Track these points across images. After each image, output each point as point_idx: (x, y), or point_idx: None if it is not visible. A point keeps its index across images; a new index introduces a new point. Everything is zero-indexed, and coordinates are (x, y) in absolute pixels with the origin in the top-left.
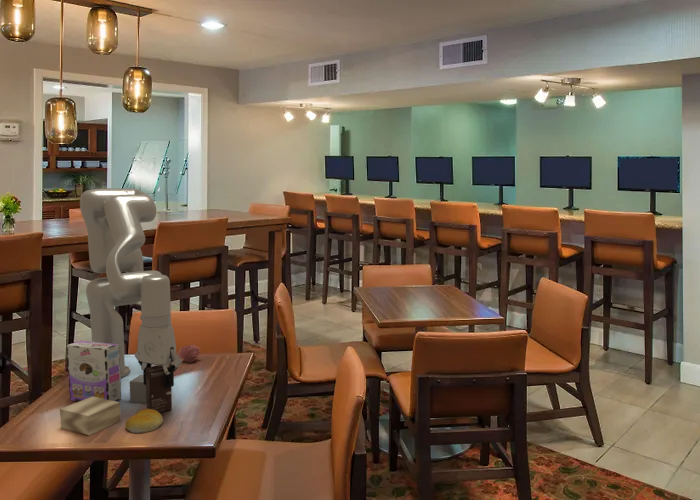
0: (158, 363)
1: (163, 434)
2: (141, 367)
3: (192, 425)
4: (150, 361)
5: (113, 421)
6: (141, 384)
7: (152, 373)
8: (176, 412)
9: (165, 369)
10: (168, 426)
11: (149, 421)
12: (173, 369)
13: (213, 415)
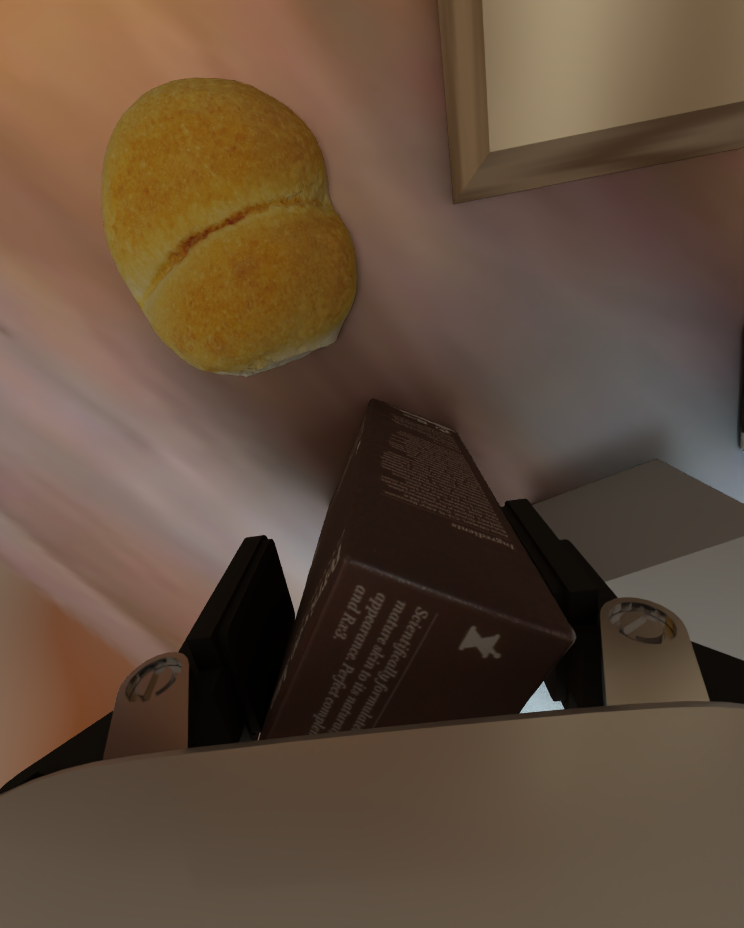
0: (99, 790)
1: (30, 240)
2: (674, 625)
3: (49, 437)
4: (361, 782)
5: (450, 116)
6: (647, 553)
7: (334, 573)
8: (282, 503)
9: (155, 719)
10: (128, 345)
11: (106, 207)
12: (32, 765)
13: (102, 578)
